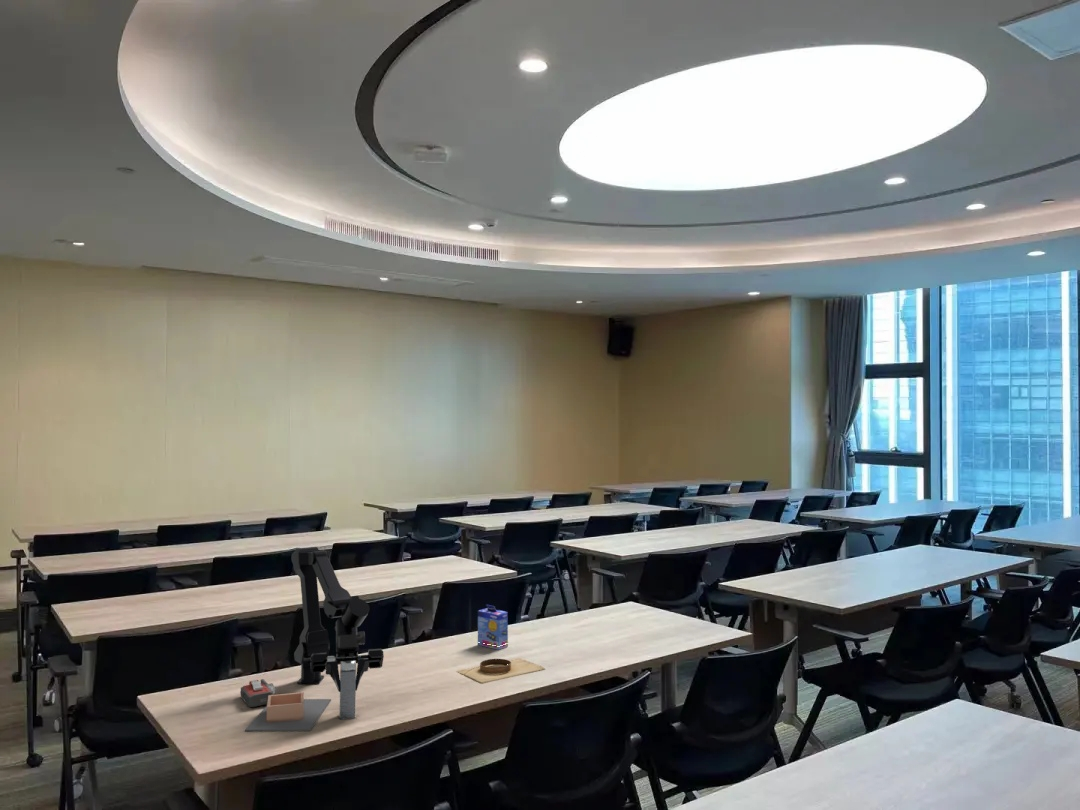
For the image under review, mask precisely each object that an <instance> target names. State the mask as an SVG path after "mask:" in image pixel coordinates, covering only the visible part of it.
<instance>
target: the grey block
mask: <svg viewBox="0 0 1080 810" xmlns="http://www.w3.org/2000/svg"><path fill="white" fill-rule="evenodd" d="M339 671H340V672H339V677H340V685H341V691H340V692H339V720H347V719H355V718H356V674H357V663H356V660H352V661H341V663H340V668H339Z"/></svg>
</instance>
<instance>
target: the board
mask: <svg viewBox="0 0 1080 810" xmlns="http://www.w3.org/2000/svg"><path fill="white" fill-rule="evenodd" d="M507 664H508V665H507ZM545 670H546V668H544V667H543V666H541V665H539V664H536V663H534V662H531V661H527V660H526V659H522V658H519V657H518V658H513V659H509V660H508V659H504V658H489V659H485V660H482V661H481V662H480V663H479V666H476V667H471V668H466V669H465V668H464V669H461V670H456V671H455V672H456V673H458V674H460V675H461V676H463V677H465V678H467V679H470V680H471V681H474V682H476V683H479V684H481V685H483V684H487V683H492V682H495V681H501V680H505V679H510V678H514V677H519V676H523V675H528V674H532V673H537V672H542V671H545Z"/></svg>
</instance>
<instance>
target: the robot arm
mask: <svg viewBox="0 0 1080 810" xmlns="http://www.w3.org/2000/svg"><path fill="white" fill-rule="evenodd" d="M290 559H291V560H290V561H291V563H292V565H293V571H294V572H295V574H297V576H298V577H299V580H300V588H301V589H300V591H301V593H300V594H301V603H302V604H301V605H302V615H303V616H302V617H303V630H302V631H301V633H300V635H299V644H298V645H297V647H296V649H295V651H294V653H293V658H294V661H295V662H297V663H298V664H300V665H301V666H300V668H301V669H300V678H298V679H299V680H298V681H297V683H296V684H300V685H303V684H304V685H308V684H309V685H310V684H311V685H313V684H317V685H319V684H320V683H321V682H322V681H323V679H324V678H325V675H329V676H330V678H331V679H332V681H333V682H334V684H335V686H336V688H337V692H339V693H340V691H341V685H340V672H339V671H340V669H339V665H340V663H341V661H352V660H356V691H357V690H358V688H359V685H360V682H361V679H362V677H363V675H364V673H367V672H368V671H369V669H380V668H382V667H383V665H384V664H383V663H384V658H385V657H384V655H385V654H384V650H383V649H382V648H369V649H368V650H367V654H362V655H361V654H360V655H359V651H360V647H359V646H361V645H365V643H366V633H365V631H364V630H363V631H358V627H360V626H361V625H362V624H363V622H364V620H365V619H366V618H367V616H368V614H369V612H370V605H369V603H368V602H367V601H365V600H364V599H361V598H360V596H359V595H351V594H350V593H349V591H348V590H347V589H345V588H343V587H342V586H341V584H340V582H339V579H338V577H337V574H336V572H335V571H334V568H333V565H332V564H331V561H330V555H329V552H328V551H327V550H325V549H321V550H320V549H319V547H318V546H310V547H301V548H295V550H294V552H292V553H291V558H290ZM318 582H319V583H318ZM318 584H319V585H320V588H321V589H322V592H323V594H324V600H323V604H322V605H323V610H324V613H325V615H326V616H327V618H330V619H334V618H337V620H336V621H335V627H334V631H335V655H329V654H330V650H331V649H330V648H331V642H330V639H329V631H328V629H325V627H324V626H323V625H322V621H321V620H322V619H321V612H320V611H321V610H320V601H319V599H320V598H319V587H318ZM323 672H325V675H322V673H323Z"/></svg>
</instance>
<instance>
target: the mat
mask: <svg viewBox="0 0 1080 810" xmlns="http://www.w3.org/2000/svg"><path fill="white" fill-rule="evenodd" d="M331 701H332V698H304V707H303V719H301V720H290V721H280V722H269V723H267V705H265V706H264V708H263V709H262V710H261V711H260V712H259V714H258V715H257V716H256V717H255V718H253V720H252V721H251V722H250V724H248V725H247V727H246V728H245V729H244V732H311V731H312V729H313V728H314V726H315V724H316V723H317V722H318V721H319V719H320V718H321V716H322V715H323V713H324V712H325V711H326V709H327V707H328V706H329V704H330V703H331Z"/></svg>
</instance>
